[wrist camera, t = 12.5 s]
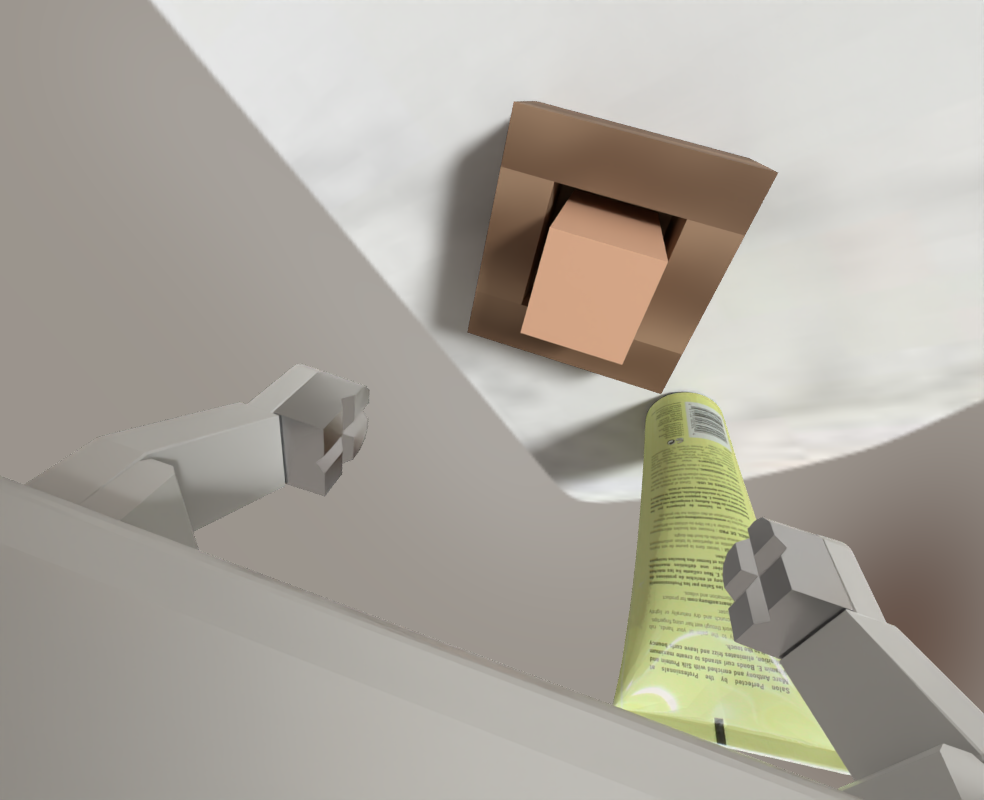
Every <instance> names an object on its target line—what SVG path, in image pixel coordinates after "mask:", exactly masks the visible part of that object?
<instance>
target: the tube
mask: <svg viewBox="0 0 984 800" xmlns="http://www.w3.org/2000/svg"><path fill="white" fill-rule="evenodd" d="M755 520H756V518H755V515H754V512H753V509H752V506H751V503H750V500H749V497H748V494H747V491H746V488H745V485H744V482H743V478H742V475H741V472H740V469H739V466H738V463H737V460H736V456H735V453H734V450H733V447H732V443H731V440H730V437H729V433H728V430H727V426H726V423H725V420H724V417H723V414H722V412H721V410H720V408H719V407H718V406H717V404H716V403H715V402H713V401H712V400H711V399H709V398H707V397H705V396H703V395H700V394H696V393H689V392H683V393H674V394H671V395H667V396H665V397H663V398H661V399H660V400H658V401H657V402H656V403H654V404H653V405H652V407H651V408H650V409H649V411H648V413H647V416H646V421H645V442H644V462H643V478H642V493H641V506H640V520H639V531H638V542H637V552H636V562H635V571H634V579H633V588H632V596H631V604H630V611H629V618H628V625H627V633H626V639H625V646H624V652H623V659H622V664H621V669H620V675H619V679H618V684H617V688H616V693H615V697H614V701H613V705H614V706H616V707H619V708H622V709H624V710H627V711H630V712H632V713H635V714H638V715H640V716H643V717H646V718H648V719H651V720H654V721H656V722H659V723H662V724H664V725H667V726H670V727H672V728H675V729H678V730H680V731H683V732H686V733H689V734H691V735H694V736H697V737H699V738H702V739H705V740H707V741H710V742H713V743H715V744H718V745H721V746H723V747H726V748H729V749H735V750H740V751H744V752H748V753H753V754H758V755H762V756H767V757H771V758H776V759H780V760H785V761H790V762H794V763H799V764H802V765H807V766H811V767H815V768H821V769H825V770H830V771H834V772H837V773H842V774H848V775H851V774H850V773H849V771H848V769H847V768H846V766H845V765H844V763H843V762H842V760H841V758H840V757H839V755H838V754H837V752H836V751H835V749H834V747H833V746H832V744H831V743H830V741H829V739H828V738H827V736H826V735H825V733H824V732H823V730H822V728H821V727H820V725H819V724H818V722H817V720H816V719H815V717H814V716H813V714H812V713H811V711H810V709H809V708H808V706H807V705H806V703H805V701H804V700H803V698H802V697H801V695H800V694H799V692H798V690H797V689H796V687H795V686H794V684H793V682H792V681H791V679H790V678H789V676H788V675H787V673H786V671H785V670H784V668H783V667H782V665H781V663H780V662H779V661H780V660H781V659H778V658H775V657H773V656H770V655H768V654H765V653H762V652H760V651H757V650H755V649H752V648H749V647H747V646H744V645H742V644H739V643H736V642H734V637H733V632H732V626H731V621H730V616H729V611H728V608H729V607H730V606H731V605H732V603H733V602H734V600H733V599H732V598H731V596H730V595H729V593H728V592H727V591H726V589H725V588H724V583H723V564H724V561H725V558H726V555H727V553H728V551H729V550H730V549H731V548H732V546H733V545H734V544H735V543H736V542H739V541H742V540H745V539H749V534H748V528H749V527H750V525H751V524H752V523H753V522H754V521H755Z"/></svg>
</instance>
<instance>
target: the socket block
mask: <svg viewBox="0 0 984 800" xmlns="http://www.w3.org/2000/svg"><path fill="white" fill-rule="evenodd" d="M777 174H778V172H776V171H774V170H772V169H770V168H768V167H766V166H764V165H762V164H760V163H758V162H756V161H754V160H752V159H750V158H746V157H743V156H739V155H735V154H731V153H728V152H724V151H720V150H716V149H713V148H709V147H705V146H702V145H698V144H694V143H690V142H687V141H683V140H679V139H675V138H672V137H668V136H664V135H660V134H657V133H653V132H649V131H646V130H642V129H638V128H634V127H631V126H627V125H623V124H619V123H616V122H612V121H608V120H604V119H601V118H597V117H593V116H590V115H586V114H582V113H578V112H575V111H571V110H567V109H563V108H560V107H556V106H552V105H548V104H545V103H541V102H537V101H520V102H514V103H513V108H512V113H511V118H510V123H509V128H508V133H507V138H506V143H505V148H504V153H503V158H502V163H501V168H500V173H499V178H498V183H497V188H496V193H495V198H494V203H493V208H492V213H491V218H490V223H489V228H488V233H487V238H486V243H485V247H484V252H483V257H482V262H481V267H480V272H479V277H478V282H477V287H476V292H475V297H474V302H473V307H472V312H471V317H470V322H469V327H468V333H471V334H474V335H477V336H480V337H484V338H487V339H490V340H493V341H496V342H499V343H502V344H506V345H509V346H512V347H515V348H518V349H521V350H524V351H528V352H531V353H534V354H537V355H540V356H543V357H546V358H550V359H553V360H556V361H559V362H562V363H565V364H568V365H572V366H575V367H578V368H581V369H584V370H587V371H590V372H594V373H597V374H600V375H603V376H606V377H609V378H612V379H616V380H619V381H622V382H625V383H628V384H631V385H634V386H638V387H641V388H644V389H647V390H650V391H653V392H656V393H659V394H661V393H662V391H663V389H664V388H665V386H666V384H667V382H668V380H669V378H670V376H671V374H672V372H673V371H674V369H675V367H676V365H677V363H678V361H679V359H680V357H681V355H682V354H683V352H684V350H685V348H686V346H687V344H688V342H689V340H690V338H691V336H692V335H693V333H694V331H695V329H696V327H697V325H698V323H699V321H700V319H701V318H702V316H703V314H704V312H705V310H706V308H707V306H708V304H709V302H710V301H711V299H712V297H713V295H714V293H715V291H716V289H717V287H718V285H719V284H720V282H721V280H722V278H723V276H724V274H725V272H726V270H727V268H728V266H729V265H730V263H731V261H732V259H733V257H734V255H735V253H736V251H737V249H738V248H739V246H740V244H741V242H742V240H743V238H744V236H745V234H746V232H747V231H748V229H749V227H750V225H751V223H752V221H753V219H754V217H755V215H756V214H757V212H758V210H759V208H760V206H761V204H762V202H763V200H764V198H765V196H766V195H767V193H768V191H769V189H770V187H771V185H772V183H773V181H774V179H775V178H776V176H777ZM575 189H576V190H579V191H583V192H586V193H590V194H593V195H597V196H600V197H604V198H608V199H611V200H615V201H618V202H622V203H625V204H629V205H632V206H636V207H639V208H643V209H646V210H650V211H653V212H657V213H658V217H659V222H660V226H661V231H662V236H663V240H664V245H665V250H666V254H667V259H668V263H667V266H666V268H665V270H664V272H663V274H662V277H661V279H660V281H659V283H658V286H657V288H656V290H655V292H654V295H653V297H652V299H651V301H650V304H649V306H648V308H647V310H646V313H645V315H644V317H643V319H642V322H641V324H640V326H639V328H638V330H637V333H636V335H635V337H634V339H633V342H632V344H631V346H630V348H629V351H628V353H627V355H626V357H625V360H624V362H623V364H622V365H621V364H618V363H615V362H612V361H608V360H605V359H602V358H599V357H596V356H593V355H589V354H586V353H583V352H580V351H577V350H574V349H570V348H567V347H564V346H561V345H558V344H555V343H551V342H548V341H545V340H542V339H539V338H535V337H532V336H529V335H526V334H523V333H521V329H522V325H523V322H524V318H525V315H526V311H527V307H528V304H529V300H530V297H531V293H532V290H533V286H534V282H535V279H536V275H537V272H538V268H539V264H540V261H541V257H542V254H543V250H544V246H545V243H546V239H547V236H548V232H549V228H550V226H551V225H552V223H553V222H554V220H555V219H556V217H557V216H558V214H559V213H560V211H561V210H562V208H563V206H564V205H565V203H566V202H567V200H568V199H569V197H570V196H571V194H572V193H573V191H574V190H575Z"/></svg>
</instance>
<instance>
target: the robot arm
mask: <svg viewBox="0 0 984 800" xmlns="http://www.w3.org/2000/svg"><path fill="white" fill-rule="evenodd" d="M368 403H369V389H368V388H367V386H365V385H362V384H359V383H356V382H353V381H350V380H348V379H345V378H342V377H339V376H336V375H334V374H331V373H328V372H325V371H321V370H318V369H316V368H313V367H310V366H307V365H304V364H297V365H294V366H293V367H292V368H290V369H289V370H288V371H287V372H286V373H284V374H283V375H282V376H281V377H279V378H278V379H277V380H276V381H274V382H273V383H272V384H271V385H269V386H268V387H267V388H266V389H264V390H263V391H262V392H261V393H259V394H258V395H257V396H256V397H255V398H253V399H252V400H251V401H250V402H248V403H247V404H244V403H241V402H237V403H233V404H229V405H225V406H221V407H217V408H213V409H208V410H204V411H200V412H197V413H192V414H189V415H185V416H180V417H176V418H172V419H168V420H164V421H160V422H156V423H152V424H148V425H143V426H139V427H135V428H131V429H128V430H123V431H119V432H115V433H111V434H107V435H103V436H99V437H97V438H95V439H94V440H92V441H91V442H89V443H88V444H86V445H84V446H83V447H81V448H80V449H78V450H77V451H75V452H74V453H72V454H70V455H69V456H67V457H66V458H64V459H63V460H61V461H60V462H58V463H57V464H55V465H53V466H52V467H50V468H49V469H47V470H46V471H44V472H43V473H41V474H40V475H38V476H37V477H35V478H34V479H32V480H30V481H29V482H27V483H26V484H21V483H18V482H16V481H13V480H10V479H8V478H5V477H2V476H0V800H984V714H983V713H982V712H981V711H980V710H979V709H978V708H977V707H976V706H975V705H974V704H973V703H972V702H971V701H970V700H969V699H968V698H967V697H966V696H965V695H964V694H963V693H962V692H961V691H960V690H959V689H958V688H957V687H956V686H955V685H954V684H953V683H952V682H951V681H950V680H949V679H948V678H947V677H946V676H945V675H944V674H943V673H942V672H941V671H940V670H939V669H938V668H937V667H936V666H935V665H934V664H933V663H932V662H931V661H930V660H929V659H928V658H927V657H926V656H925V655H924V654H923V653H922V652H921V651H920V650H919V649H918V648H917V647H916V646H915V645H914V644H913V643H912V642H911V641H910V640H909V639H908V638H907V637H906V636H905V635H904V634H903V633H902V632H901V631H900V630H899V629H898V628H897V627H896V626H893V625H890V624H888V623H886V621H885V619H884V617H883V615H882V613H881V611H880V609H879V606H878V604H877V602H876V600H875V598H874V596H873V594H872V592H871V590H870V588H869V586H868V583H867V582H866V579H865V577H864V575H863V573H862V571H861V569H860V567H859V565H858V563H857V560H856V558H855V556H854V554H853V552H852V550H851V549H850V548H849V547H848V546H847V545H846V544H845V543H843V542H840V541H837V540H834V539H831V538H827V537H824V536H821V535H817V534H812V533H809V532H806V531H803V530H800V529H797V528H794V527H791V526H788V525H785V524H782V523H779V522H775V521H772V520H769V519H766V518H763V517H762V518H759V519H757V520H755V521H754V522H753V523H752V524H751V525H750V527H749V528H748V534H749V539H745V540H742V541H739V542H736V543H735V544H734V545H733V546H732V548H731V549H730V550H729V551H728V553H727V555H726V558H725V561H724V564H723V583H724V588H725V589H726V591H727V592H728V593H729V595H730V596H731V598H732V599H733V600H734V602H733V603H732V605H731V606H730V607H729V608H728V611H729V616H730V621H731V626H732V632H733V637H734V642H736V643H739V644H742V645H744V646H747V647H749V648H752V649H755V650H757V651H760V652H762V653H765V654H768V655H770V656H773V657H775V658H778V659H781V660H780V661H779V662H780V663H781V665H782V667H783V668H784V670H785V671H786V673H787V675H788V676H789V678H790V679H791V681H792V682H793V684H794V686H795V687H796V689H797V690H798V692H799V694H800V695H801V697H802V698H803V700H804V701H805V703H806V705H807V706H808V708H809V709H810V711H811V713H812V714H813V716H814V717H815V719H816V720H817V722H818V724H819V725H820V727H821V728H822V730H823V732H824V733H825V735H826V736H827V738H828V739H829V741H830V743H831V744H832V746H833V747H834V749H835V751H836V752H837V754H838V755H839V757H840V758H841V760H842V762H843V763H844V765H845V766H846V768H847V769H848V771H849V773H850V774H851V776H852V777H853V779H854V781H855V782H853V783H850V784H848V785H846V786H843V787H841V788H839V789H835V788H833V787H830V786H827V785H825V784H822V783H819V782H817V781H814V780H811V779H809V778H806V777H803V776H801V775H798V774H795V773H793V772H790V771H787V770H785V769H782V768H779V767H777V766H774V765H771V764H769V763H766V762H763V761H761V760H758V759H755V758H753V757H750V756H747V755H744V754H742V753H739V752H737V751H734V750H731V749H729V748H726V747H723V746H721V745H718V744H715V743H713V742H710V741H707V740H705V739H702V738H699V737H697V736H694V735H691V734H689V733H686V732H683V731H680V730H678V729H675V728H672V727H670V726H667V725H664V724H662V723H659V722H656V721H654V720H651V719H648V718H646V717H643V716H640V715H638V714H635V713H632V712H630V711H627V710H624V709H622V708H619V707H616V706H614V705H611V704H608V703H606V702H603V701H600V700H597V699H595V698H592V697H590V696H587V695H584V694H582V693H579V692H576V691H574V690H571V689H568V688H565V687H563V686H560V685H558V684H555V683H552V682H550V681H547V680H544V679H542V678H539V677H536V676H533V675H531V674H528V673H525V672H523V671H520V670H517V669H515V668H512V667H509V666H506V665H504V664H501V663H499V662H496V661H493V660H490V659H488V658H485V657H483V656H480V655H477V654H475V653H472V652H469V651H467V650H464V649H461V648H459V647H456V646H453V645H451V644H448V643H445V642H442V641H439V640H437V639H434V638H432V637H429V636H426V635H424V634H421V633H418V632H416V631H413V630H410V629H408V628H405V627H402V626H400V625H397V624H394V623H392V622H389V621H386V620H383V619H381V618H378V617H376V616H373V615H370V614H368V613H365V612H362V611H360V610H357V609H354V608H351V607H349V606H346V605H344V604H341V603H338V602H336V601H333V600H330V599H328V598H325V597H322V596H320V595H317V594H314V593H312V592H309V591H306V590H303V589H301V588H298V587H296V586H293V585H290V584H288V583H285V582H282V581H280V580H277V579H274V578H271V577H269V576H266V575H263V574H261V573H258V572H255V571H253V570H250V569H248V568H245V567H242V566H239V565H237V564H234V563H231V562H229V561H226V560H224V559H221V558H218V557H216V556H213V555H210V554H208V553H205V552H202V551H200V550H199V549H198V545H197V542H196V539H195V536H194V531H196V530H198V529H200V528H202V527H204V526H206V525H208V524H210V523H212V522H214V521H216V520H218V519H220V518H222V517H224V516H226V515H228V514H230V513H232V512H234V511H236V510H238V509H240V508H242V507H244V506H246V505H248V504H250V503H252V502H254V501H256V500H258V499H260V498H262V497H264V496H266V495H268V494H270V493H272V492H274V491H276V490H278V489H280V488H282V487H284V486H285V484H288V485H291V486H294V487H297V488H301V489H304V490H307V491H310V492H313V493H316V494H319V495H322V496H325V495H326V494H327V493H328V492H329V490H330V489H331V488H332V486H333V485H334V484H335V482H336V481H337V480H338V479H339V477H340V476H341V475H342V464H343V463H345V462H348V461H350V460H353V459H354V457H355V456H356V454H357V453H358V451H359V450H360V448H361V446H362V444H363V442H364V440H365V436H366V433H367V428H368V418H367V416H366V414H365V413H364V411H363V410H364V408H365V407H366V406H367V405H368Z"/></svg>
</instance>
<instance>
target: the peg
mask: <svg viewBox="0 0 984 800" xmlns="http://www.w3.org/2000/svg"><path fill="white" fill-rule="evenodd" d="M667 263H668V259H667V254H666V250H665V245H664V240H663V236H662V231H661V226H660V222H659V217H658V213H657V212H653V211H650V210H646V209H643V208H639V207H636V206H632V205H629V204H625V203H622V202H618V201H615V200H611V199H608V198H604V197H600V196H597V195H593V194H590V193H586V192H583V191H579V190H576V189H575V190H574V191H573V193H572V194H571V196H570V197H569V199H568V200H567V202H566V203H565V205H564V206H563V208H562V210H561V211H560V213H559V214H558V216H557V217H556V219H555V220H554V222H553V223H552V225H551V226H550V228H549V232H548V236H547V239H546V243H545V246H544V250H543V254H542V257H541V261H540V264H539V268H538V272H537V275H536V279H535V282H534V286H533V290H532V293H531V297H530V300H529V304H528V307H527V311H526V315H525V318H524V322H523V325H522V329H521V333H523V334H526V335H529V336H532V337H535V338H539V339H542V340H545V341H548V342H551V343H555V344H558V345H561V346H564V347H567V348H570V349H574V350H577V351H580V352H583V353H586V354H589V355H593V356H596V357H599V358H602V359H605V360H608V361H612V362H615V363H618V364H621V365H622V364H623V362H624V360H625V357H626V355H627V353H628V351H629V348H630V346H631V344H632V342H633V339H634V337H635V335H636V333H637V330H638V328H639V326H640V324H641V322H642V319H643V317H644V315H645V313H646V310H647V308H648V306H649V304H650V301H651V299H652V297H653V295H654V292H655V290H656V288H657V286H658V283H659V281H660V279H661V277H662V274H663V272H664V270H665V268H666V266H667Z"/></svg>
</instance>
